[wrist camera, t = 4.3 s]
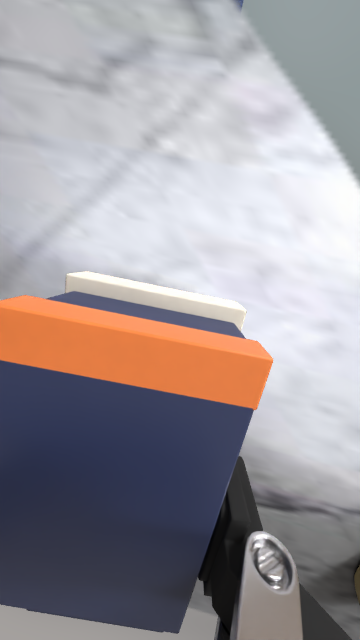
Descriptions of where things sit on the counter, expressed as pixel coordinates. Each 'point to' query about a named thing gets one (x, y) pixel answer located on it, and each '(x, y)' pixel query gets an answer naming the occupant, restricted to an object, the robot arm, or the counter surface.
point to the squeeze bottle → (357, 583)
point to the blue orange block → (118, 445)
